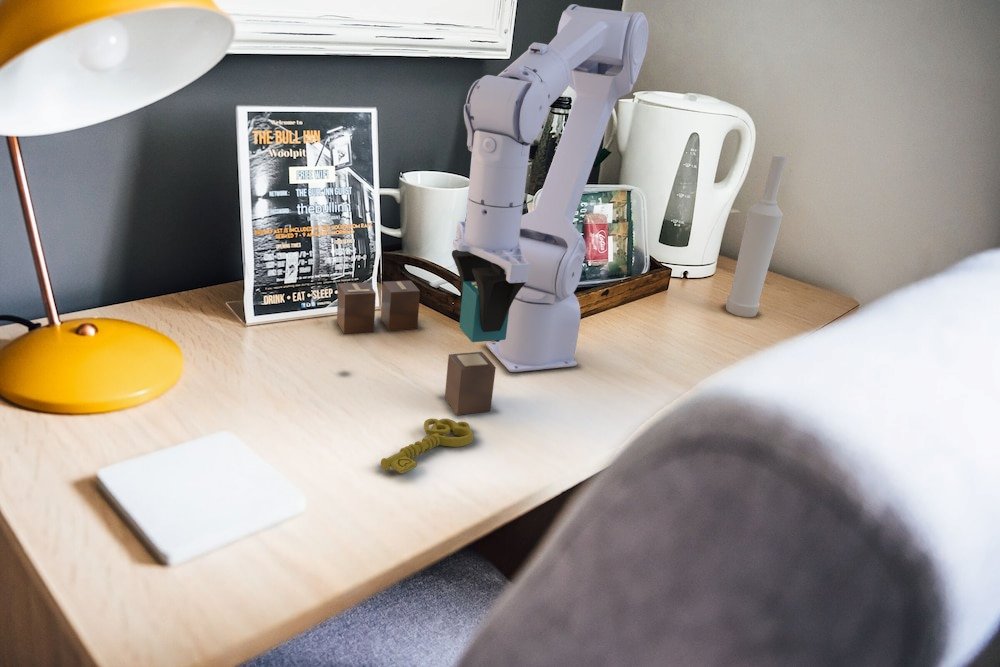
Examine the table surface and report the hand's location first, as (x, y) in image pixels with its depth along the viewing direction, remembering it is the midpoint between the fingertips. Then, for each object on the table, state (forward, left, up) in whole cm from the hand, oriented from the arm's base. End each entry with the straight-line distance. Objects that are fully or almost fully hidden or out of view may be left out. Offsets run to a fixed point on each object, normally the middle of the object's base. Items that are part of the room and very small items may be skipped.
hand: (482, 321), depth 84 cm
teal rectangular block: (0, 0, -1) cm, 1 cm away
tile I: (+3, -21, -9) cm, 24 cm away
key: (+9, +9, -10) cm, 16 cm away
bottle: (-53, -17, -10) cm, 57 cm away
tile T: (+9, -21, -9) cm, 25 cm away
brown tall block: (+2, +2, -9) cm, 10 cm away
